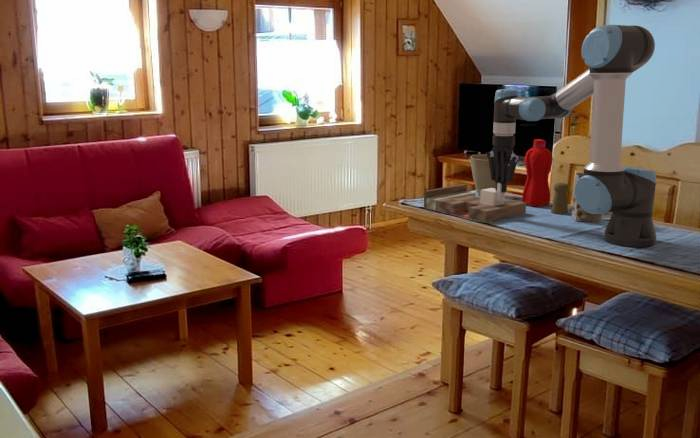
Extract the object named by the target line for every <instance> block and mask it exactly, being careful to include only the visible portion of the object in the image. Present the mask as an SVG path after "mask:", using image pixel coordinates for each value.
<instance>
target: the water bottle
mask: <svg viewBox="0 0 700 438" xmlns="http://www.w3.org/2000/svg"><path fill="white" fill-rule="evenodd" d="M546 143H547V141H546V140H544V139H540V138H537V139H536V138H535V139H533V146H532V147H531V148H530V149H528V150H527V151H526V153H525V156H524V164H525V165H524V166H525V171H526V180H525V184H524V187H523V191H522V195H521V202H525V203H526V206H531V207H536V208H537V207H538V208H539V207H544V206H548V205H550V202H551V189H550V183H549V175H550V173H551V170H552V165H553V160H554V159H553V152H551V150H550V149H548V148H547V147H546Z"/></svg>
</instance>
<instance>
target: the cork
mask: <svg viewBox="0 0 700 438" xmlns="http://www.w3.org/2000/svg"><path fill="white" fill-rule="evenodd" d="M553 190H554V195H553V201H552V205H551V209H550V213H551V214H554V215H558V216H559V215H568V214H569V208H568V207H569V206H568V191H569V190H570V186H569V184H568V183H566V182H557V183H554V185H553Z"/></svg>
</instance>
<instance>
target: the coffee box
mask: <svg viewBox="0 0 700 438" xmlns="http://www.w3.org/2000/svg"><path fill="white" fill-rule="evenodd" d="M583 174H584V172H575V177H574V187H575V184H576V182H577V181H578V179H579V178H581V177H582V176H583ZM574 187H573V188H574ZM571 208H572V211H571V218H572V219H573V220H574V221H575V222H590V221H592V222H593V223H594V222H596V223H597V222H598V223H602V220H603V214H590V213H587V212H585V211H584V210H583V209H582V208H581V207H580V205H579V204H578V203H577V201H576V199H575V194H574V193H573V199H572V207H571ZM592 222H591V223H592Z"/></svg>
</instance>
